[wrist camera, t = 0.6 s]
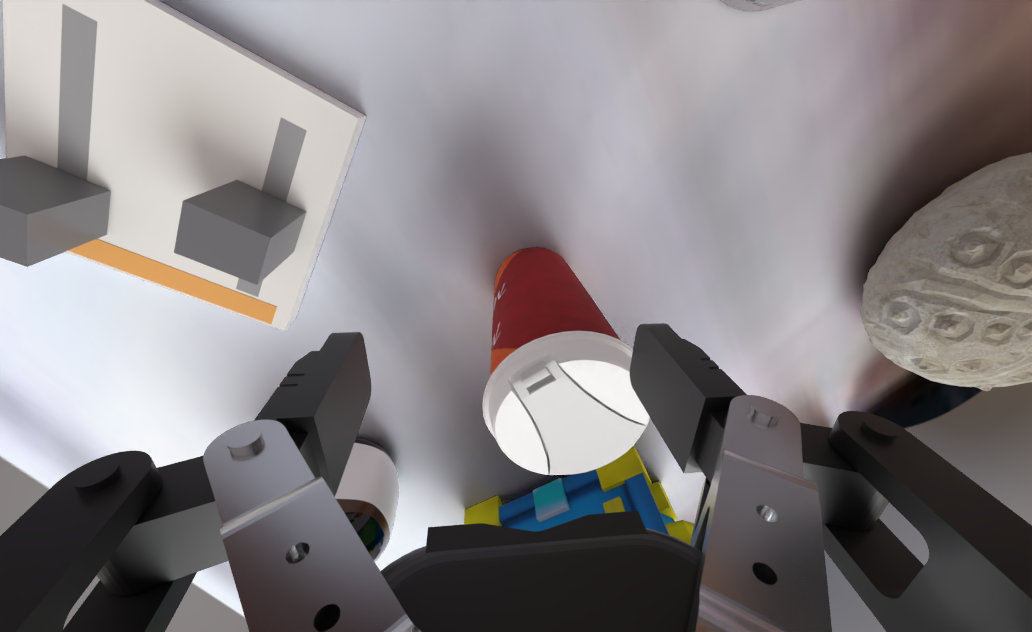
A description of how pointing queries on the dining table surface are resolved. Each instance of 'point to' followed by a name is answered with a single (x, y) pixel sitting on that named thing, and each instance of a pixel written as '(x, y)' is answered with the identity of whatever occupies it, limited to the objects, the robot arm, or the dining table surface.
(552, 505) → the blue yellow rectangular box
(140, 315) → the dining table surface
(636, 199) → the dining table surface
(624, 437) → the coffee cup
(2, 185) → the breaker
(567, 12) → the dining table surface
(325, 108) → the panel
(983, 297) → the decorative shell
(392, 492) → the spread jar
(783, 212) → the dining table surface
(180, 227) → the block
